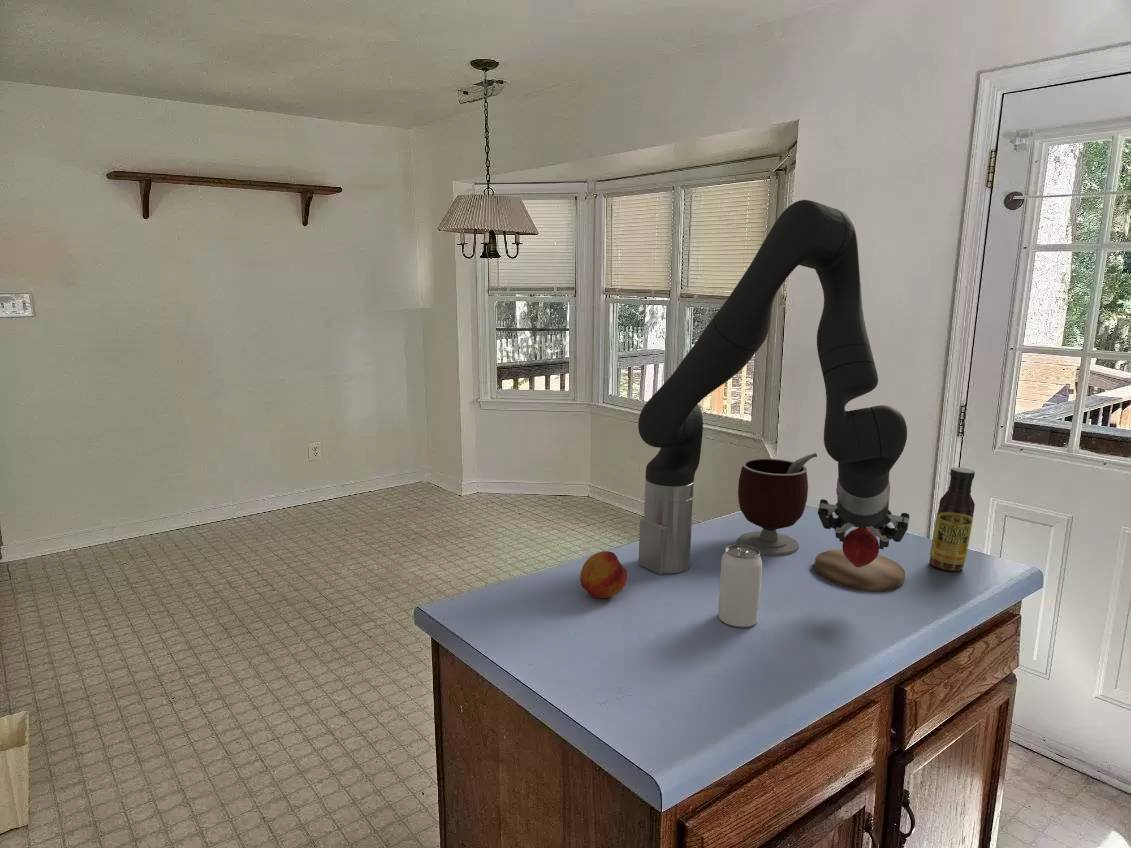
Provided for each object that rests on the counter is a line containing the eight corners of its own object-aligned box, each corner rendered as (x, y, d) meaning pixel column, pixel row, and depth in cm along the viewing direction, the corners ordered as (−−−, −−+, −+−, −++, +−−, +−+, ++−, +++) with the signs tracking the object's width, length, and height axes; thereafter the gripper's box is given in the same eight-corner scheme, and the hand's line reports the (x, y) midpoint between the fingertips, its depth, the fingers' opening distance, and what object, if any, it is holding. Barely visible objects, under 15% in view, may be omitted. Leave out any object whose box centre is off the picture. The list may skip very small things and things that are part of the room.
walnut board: (876, 598, 128) (877, 590, 128) (798, 569, 140) (798, 561, 140) (920, 576, 138) (921, 568, 137) (843, 550, 150) (843, 543, 150)
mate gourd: (743, 556, 146) (750, 461, 142) (727, 532, 159) (733, 444, 155) (820, 557, 146) (829, 461, 142) (797, 533, 160) (805, 445, 155)
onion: (881, 575, 121) (888, 530, 119) (847, 573, 121) (853, 528, 120) (868, 561, 127) (874, 518, 125) (835, 559, 127) (840, 516, 125)
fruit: (622, 608, 123) (624, 564, 121) (576, 603, 125) (576, 559, 123) (628, 589, 130) (630, 547, 129) (584, 584, 132) (585, 542, 130)
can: (759, 614, 121) (764, 546, 119) (756, 631, 115) (761, 561, 113) (720, 607, 124) (724, 541, 121) (715, 624, 118) (719, 555, 115)
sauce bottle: (929, 569, 141) (942, 471, 137) (927, 558, 146) (939, 463, 142) (967, 575, 138) (982, 475, 134) (963, 563, 144) (977, 467, 140)
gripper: (917, 479, 110) (910, 529, 123) (819, 465, 117) (822, 513, 130) (911, 522, 107) (904, 569, 120) (810, 505, 113) (814, 551, 126)
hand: (862, 540), depth 125 cm, fingers closed on onion, 5 cm apart
